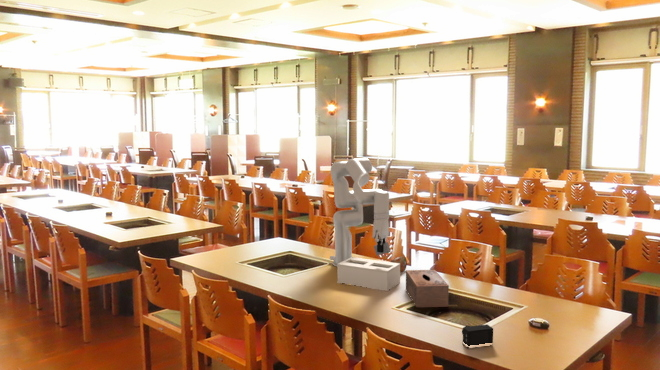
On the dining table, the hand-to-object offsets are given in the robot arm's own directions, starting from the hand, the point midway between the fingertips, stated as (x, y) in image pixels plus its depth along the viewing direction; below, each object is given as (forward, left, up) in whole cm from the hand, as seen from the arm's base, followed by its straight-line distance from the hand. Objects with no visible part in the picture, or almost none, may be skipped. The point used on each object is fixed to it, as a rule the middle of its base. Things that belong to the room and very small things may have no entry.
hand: (381, 251), depth 282 cm
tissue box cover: (+27, -8, -18) cm, 33 cm away
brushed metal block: (+4, 0, +3) cm, 4 cm away
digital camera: (+63, -50, -18) cm, 82 cm away
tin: (-1, +24, -18) cm, 30 cm away
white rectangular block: (-7, 0, -17) cm, 19 cm away
